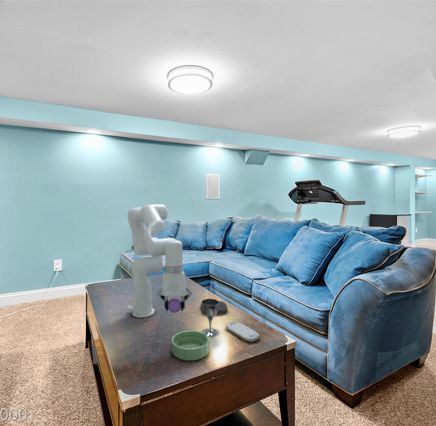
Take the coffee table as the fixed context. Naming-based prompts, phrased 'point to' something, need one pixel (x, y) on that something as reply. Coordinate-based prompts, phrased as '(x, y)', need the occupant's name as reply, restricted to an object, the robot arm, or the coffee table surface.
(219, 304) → the media streaming box
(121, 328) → the coffee table surface
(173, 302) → the ball
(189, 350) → the bowl
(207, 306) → the wine glass
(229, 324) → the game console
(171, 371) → the coffee table surface
